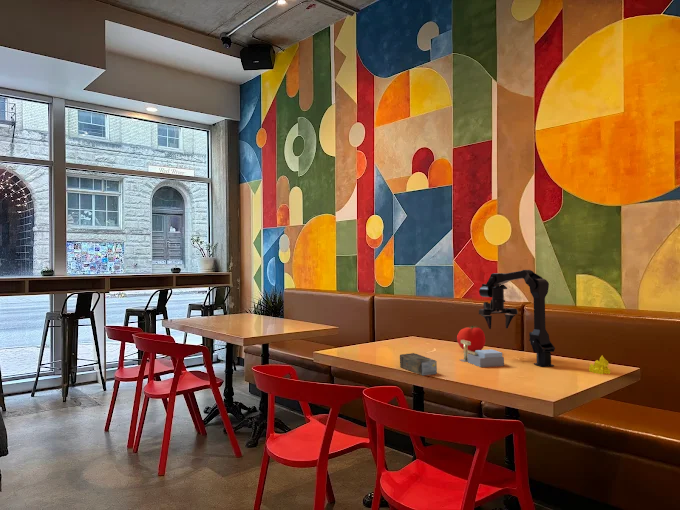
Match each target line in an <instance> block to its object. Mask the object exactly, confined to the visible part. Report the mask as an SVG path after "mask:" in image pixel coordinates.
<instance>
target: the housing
mask: <svg viewBox="0 0 680 510" xmlns="http://www.w3.org/2000/svg"><path fill="white" fill-rule="evenodd" d="M459 361H461V362H462V363H463V362H464V363H465V362H466V363H469V364H471V365H473V364H474V366H476V367H478V366H479V368H491V367H492V368H493V367H504V366H505V357H504V356H502V357H493V358H483V357H481V356H478V355H473V354H470V353H468V360H464V358H461V359H459Z"/></svg>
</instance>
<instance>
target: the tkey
mask: <svg viewBox="0 0 680 510" xmlns="http://www.w3.org/2000/svg"><path fill="white" fill-rule="evenodd" d="M461 343H462V344H464V349H463V359H464V360H468V354H473V355H477V353H476V352H473V351H470V350H468V345H471V342H470V341H467V340H461Z"/></svg>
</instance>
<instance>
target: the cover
mask: <svg viewBox="0 0 680 510" xmlns="http://www.w3.org/2000/svg"><path fill="white" fill-rule="evenodd" d="M475 352H476V353H477V355H478V356H481V357H483V358H493V357H503V352H501V351H498V350H496V349H482V350H475Z"/></svg>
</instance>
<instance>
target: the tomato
mask: <svg viewBox="0 0 680 510" xmlns="http://www.w3.org/2000/svg"><path fill="white" fill-rule="evenodd" d="M461 340H467V341H470V342H471V345H468V350H470V351H473V352H475V350H484V349H483V348H484V347H485V345H486V335H485V332H484V330H482V328H481V327H479V326H478V325H475V326H474V325H471V326H467V327H463V328H462V329H460V330H459V332H458V333H457V336H456V341H457V344H458V346H459V348H461V349H462V350H464V344H462V343H461Z"/></svg>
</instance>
